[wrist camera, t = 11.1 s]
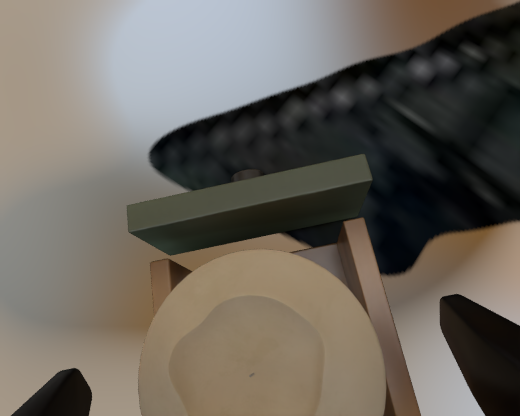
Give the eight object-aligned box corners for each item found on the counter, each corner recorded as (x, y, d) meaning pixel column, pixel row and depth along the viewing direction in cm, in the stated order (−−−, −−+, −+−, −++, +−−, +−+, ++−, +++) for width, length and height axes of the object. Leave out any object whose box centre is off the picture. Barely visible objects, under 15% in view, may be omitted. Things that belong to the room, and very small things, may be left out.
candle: (334, 442, 15) (378, 624, 6) (205, 402, 16) (60, 500, 7) (357, 304, 17) (421, 265, 7) (238, 276, 18) (157, 210, 8)
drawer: (165, 213, 20) (124, 178, 16) (346, 174, 20) (357, 126, 15) (195, 516, 16) (150, 590, 11) (432, 477, 15) (484, 538, 11)
